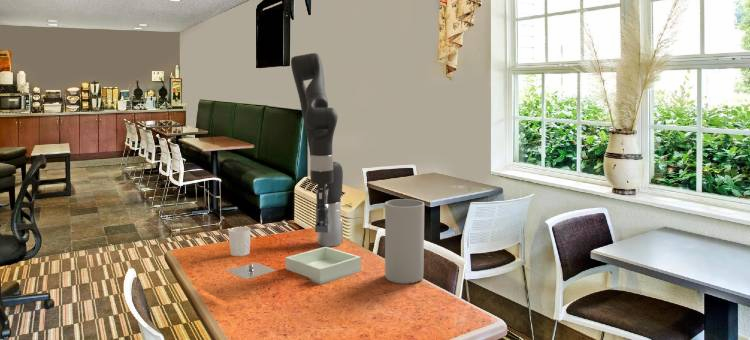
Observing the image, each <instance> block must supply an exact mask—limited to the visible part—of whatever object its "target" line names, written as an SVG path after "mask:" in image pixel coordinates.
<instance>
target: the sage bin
mask: <svg viewBox="0 0 750 340" xmlns="http://www.w3.org/2000/svg"><path fill="white" fill-rule="evenodd" d="M284 261H285V270H287V271H291V272H293V273H295V274H298V275H301V276H303V277H306V280H307V281H310V282H312V283H316V284H317V285H320V286H321V285H324V284H327V283H330V282H333V281H336V280H340V279H342V278H345V277H347V276H350V275H353V274H357V273H359V272H361V271H362V256H359V255H356V254H352V253H350V252H345V251H342V250H338V249H336V248H332V247H330V246H321V247H318V248H315V249H312V250H308V251H305V252H301V253H297V254H293V255H289V256H287V257H286V256H285V259H284Z"/></svg>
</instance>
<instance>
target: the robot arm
mask: <svg viewBox="0 0 750 340" xmlns="http://www.w3.org/2000/svg"><path fill="white" fill-rule="evenodd" d="M290 65H291V72H292V76H293V79H294V80H293V81H294V83H295V88H296V91H297V94H298V98H299V99H298V100H299V102H300V108H301V114H302V120H303V124H304V125H303V126H304V129H305V134H306V138H307V144H308V149H309V156H310V160H309V161H310V162H309V167H310V169H309V170H310V176H309V177H310V183H311V184H312V185H313V184H314V185H315V184H316V185H317V187H316V188H315V195H316V197H315V199H316V203H317V209H318V220H319V221H325V209H326V207H325V203H328V204H329V219H328V223H329V230H328V233H324V232H317V244H318V245H319V246H321V247H336V246H337V247H338V246H340V245H341V244H342V243H344V233H343V231H344V230H343V228H344V227H343V222H344V221H343V219H342V216H341V215H342V213H341V211H342V208H341V205H342V203H341V198H342V194H343V179H344V177H343V175H344V174H343V172H344V171H343V166H342V165H341V163H339V162H336V161H334V159H333V157H334V156H333V140H334V134H335V130H336V127H337V123H338V117H339V116H338V112H337V110H336V109H335V108H334V107H329V101H328V98H327V94H326V89H325V77H324V76H325V75H324V69H323V64H322V59H321V57H320V55H319V54H318V53H317V52H316V53H315V52H314V53H307V54H301V55H295V56H293V57H291V59H290ZM309 80H310V82H309V84H308V85H307V87H306V84H305V82H306V81H309ZM304 81H305V82H304ZM320 203H323V205H320Z"/></svg>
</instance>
